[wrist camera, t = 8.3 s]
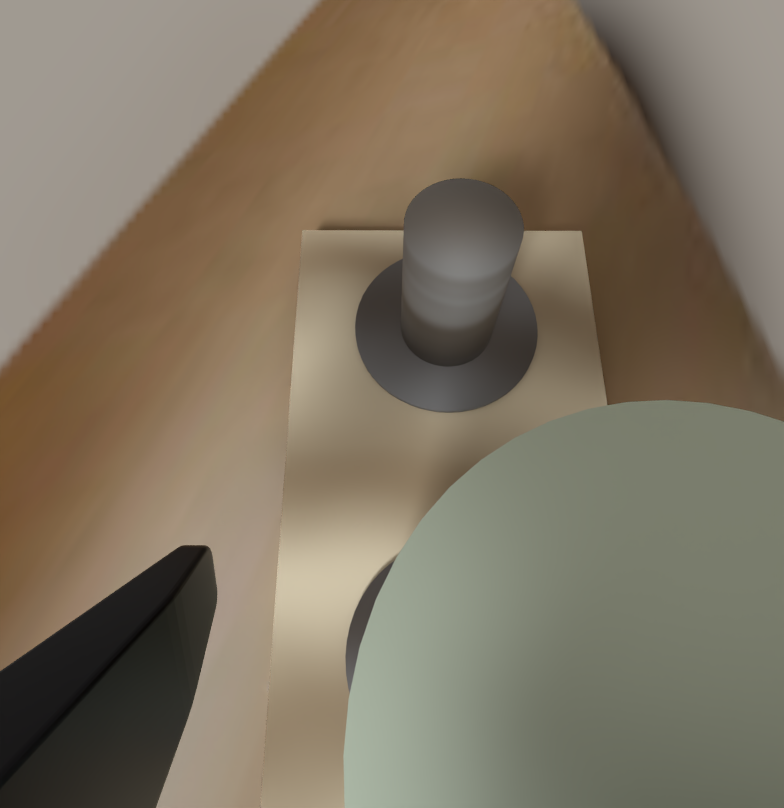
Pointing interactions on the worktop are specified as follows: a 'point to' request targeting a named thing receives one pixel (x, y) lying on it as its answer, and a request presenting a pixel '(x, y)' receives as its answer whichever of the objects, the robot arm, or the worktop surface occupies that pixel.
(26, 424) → the worktop surface
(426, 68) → the worktop surface
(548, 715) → the sage pin
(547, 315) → the board
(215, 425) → the worktop surface
